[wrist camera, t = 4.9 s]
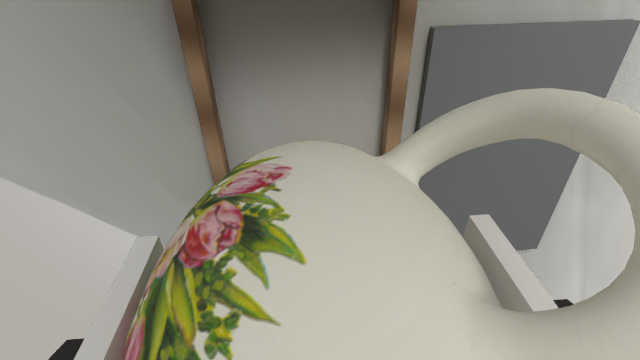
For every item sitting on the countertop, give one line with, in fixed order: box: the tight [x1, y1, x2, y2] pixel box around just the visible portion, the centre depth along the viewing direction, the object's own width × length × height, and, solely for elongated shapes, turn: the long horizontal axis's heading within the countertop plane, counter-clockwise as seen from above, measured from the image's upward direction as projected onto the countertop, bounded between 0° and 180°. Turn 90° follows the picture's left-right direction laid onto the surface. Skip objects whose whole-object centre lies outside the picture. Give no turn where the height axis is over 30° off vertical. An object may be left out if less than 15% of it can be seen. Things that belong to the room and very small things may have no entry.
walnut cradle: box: [172, 0, 417, 185], centre depth 25 cm, size 24×16×8 cm
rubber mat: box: [416, 19, 640, 250], centre depth 33 cm, size 24×16×1 cm, turn 1°
